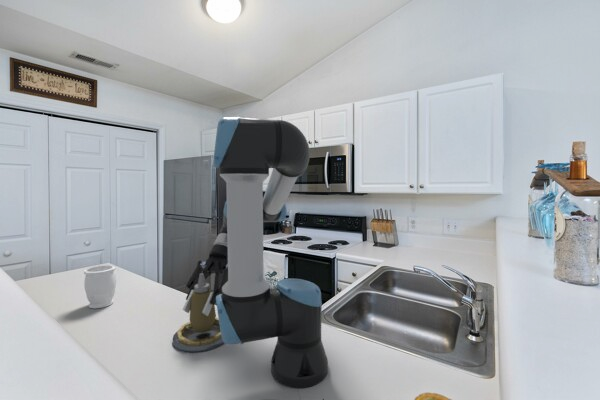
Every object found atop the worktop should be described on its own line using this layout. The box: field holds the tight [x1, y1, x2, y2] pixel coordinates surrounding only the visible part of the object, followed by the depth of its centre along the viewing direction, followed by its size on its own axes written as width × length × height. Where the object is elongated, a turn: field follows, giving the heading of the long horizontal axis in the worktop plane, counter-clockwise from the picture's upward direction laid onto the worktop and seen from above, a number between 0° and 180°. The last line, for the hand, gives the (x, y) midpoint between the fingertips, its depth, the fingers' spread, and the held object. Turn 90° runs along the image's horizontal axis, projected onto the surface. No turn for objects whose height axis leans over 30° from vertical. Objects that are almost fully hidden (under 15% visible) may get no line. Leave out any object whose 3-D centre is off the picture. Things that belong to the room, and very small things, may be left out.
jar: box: [83, 264, 117, 310], centre depth 115 cm, size 11×10×15 cm
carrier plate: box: [172, 317, 225, 354], centre depth 91 cm, size 18×18×2 cm
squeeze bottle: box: [189, 273, 217, 333], centre depth 91 cm, size 8×8×18 cm
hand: (195, 312), depth 88 cm, fingers closed on squeeze bottle, 6 cm apart
